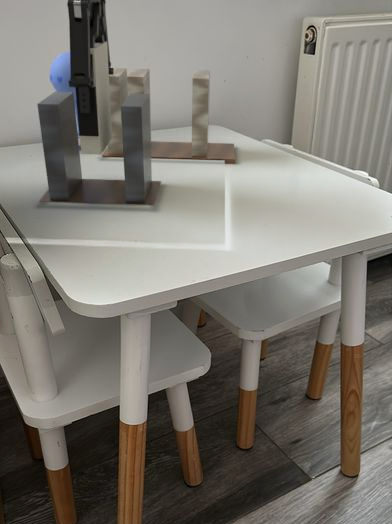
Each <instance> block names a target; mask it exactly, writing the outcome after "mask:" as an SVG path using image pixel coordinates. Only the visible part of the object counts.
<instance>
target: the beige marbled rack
mask: <svg viewBox="0 0 392 524" xmlns="http://www.w3.org/2000/svg"><path fill="white" fill-rule="evenodd" d="M112 68H113V69H114V73H113V75H109V88H110V108H111V127H112V139H111V141H110V142H109V143H108V145H107V147H106V148H105V150H104V151H103V153H102V154H101V156H102V158H120V159H121V158H122V159H124V157H123V139H122V121H121V105H122V104H123V103H124V101H125V100H126V99H127V98H128V96H129V95H130V94H149V101H150V102H151V80H150V79H151V78H150V77H151V75H150V73H151V72H150V68H133V70H131V72H130V73H129V74H128V69H127V68H124V67H123V68H122V67H121V68H119V67H112ZM191 81H192V83H191V84H192V87H191V89H192V93H191V99H192V100H191V141H189V142H188V141H187V142H186V141H153V140H151V160H153V159H156V160H191V161H222V162H224V164H227V165H235V164H236V155H235V154H236V153H235V152H236V151H235V143H228V142H227V143H225V142H209V130H210V129H209V125H210V124H209V123H210V121H209V120H210V90H211V89H210V88H211V70H206V69H205V70H202V69H201V70H199V69H195V70H194V72H193V75H192V80H191ZM151 109H152V108H150V136H151V137H152V118H151V117H152V113H151V111H152V110H151Z"/></svg>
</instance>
